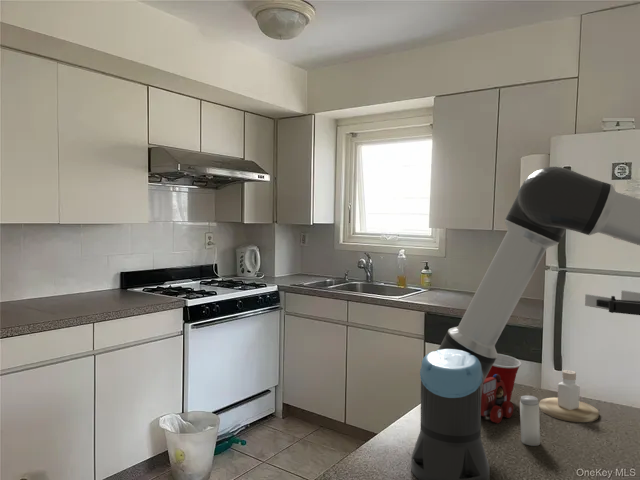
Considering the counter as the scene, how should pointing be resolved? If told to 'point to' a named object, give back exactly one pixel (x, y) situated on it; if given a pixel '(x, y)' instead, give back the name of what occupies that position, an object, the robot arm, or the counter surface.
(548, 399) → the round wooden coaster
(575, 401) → the pepper shaker
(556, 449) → the counter surface
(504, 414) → the toy fire truck
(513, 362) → the plastic cup
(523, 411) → the salt shaker
